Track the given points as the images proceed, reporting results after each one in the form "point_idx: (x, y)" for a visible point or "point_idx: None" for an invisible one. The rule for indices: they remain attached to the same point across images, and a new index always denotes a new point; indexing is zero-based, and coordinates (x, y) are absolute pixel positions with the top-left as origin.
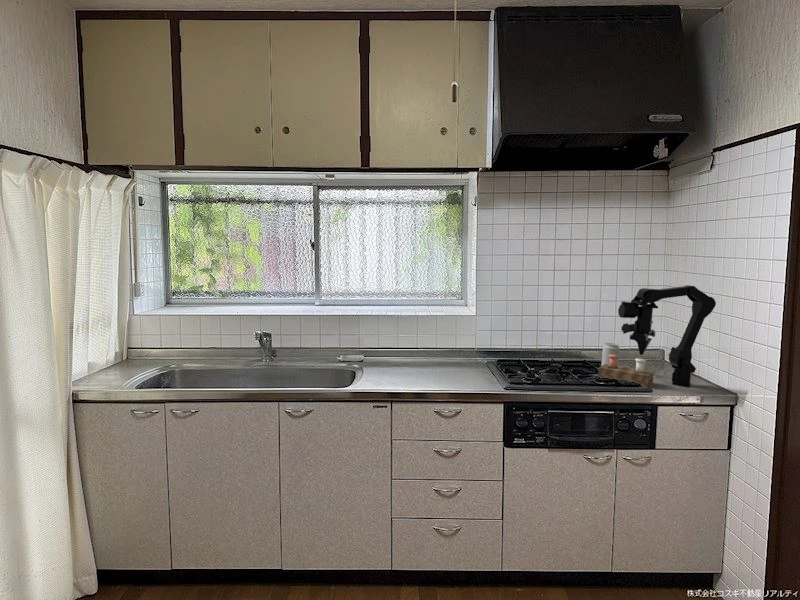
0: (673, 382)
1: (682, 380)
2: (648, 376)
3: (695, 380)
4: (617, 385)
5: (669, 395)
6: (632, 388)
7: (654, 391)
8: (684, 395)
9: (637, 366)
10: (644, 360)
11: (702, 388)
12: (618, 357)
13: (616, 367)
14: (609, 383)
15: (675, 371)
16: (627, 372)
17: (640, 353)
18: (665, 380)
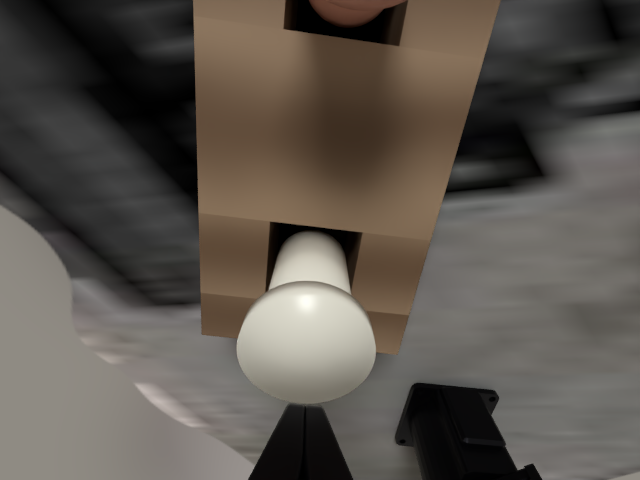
0: (435, 392)
1: (414, 445)
2: (207, 331)
3: (581, 455)
4: (124, 93)
5: (147, 379)
6: (130, 205)
7: (170, 319)
8: (209, 426)
9: (275, 277)
10: (272, 390)
11: (413, 474)
12: (339, 4)
13: (338, 20)
14: (135, 15)
15: (458, 465)
16: (199, 173)
17: (277, 430)
18: (507, 351)
